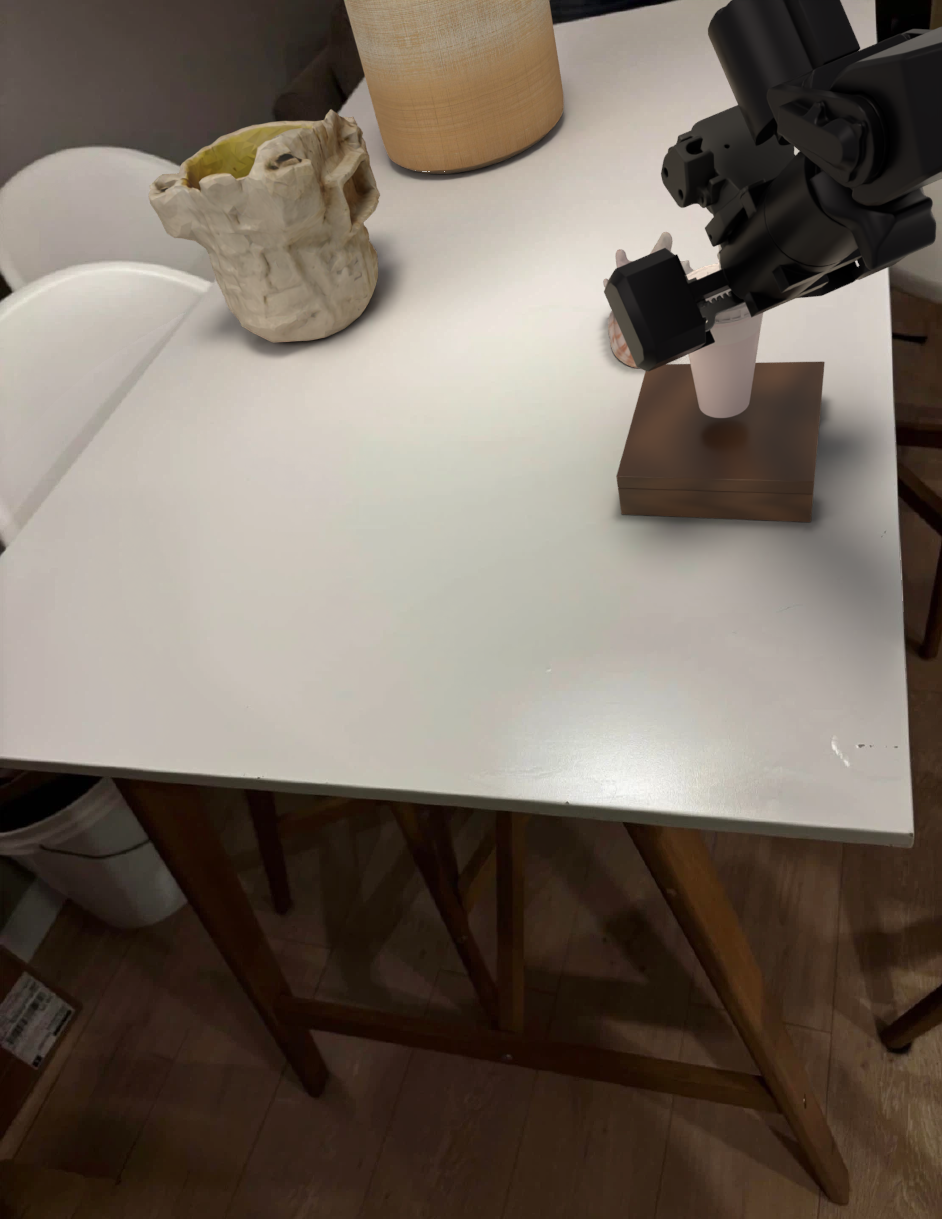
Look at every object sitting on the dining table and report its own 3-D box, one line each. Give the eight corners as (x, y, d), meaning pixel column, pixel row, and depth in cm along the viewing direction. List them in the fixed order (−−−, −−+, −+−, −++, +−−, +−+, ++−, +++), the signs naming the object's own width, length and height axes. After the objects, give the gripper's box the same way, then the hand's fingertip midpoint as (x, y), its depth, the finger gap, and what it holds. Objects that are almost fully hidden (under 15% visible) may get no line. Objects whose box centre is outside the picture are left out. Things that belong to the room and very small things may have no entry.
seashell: (718, 290, 87) (717, 196, 80) (708, 365, 80) (705, 268, 73) (615, 297, 90) (605, 208, 83) (596, 370, 83) (583, 278, 76)
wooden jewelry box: (821, 401, 73) (824, 360, 70) (810, 522, 65) (814, 481, 62) (650, 402, 78) (647, 364, 75) (621, 514, 70) (616, 476, 67)
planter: (508, 185, 112) (469, -18, 96) (354, 177, 124) (296, -4, 108) (598, 94, 124) (576, -100, 108) (449, 96, 136) (410, -78, 120)
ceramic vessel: (215, 191, 110) (260, -10, 90) (385, 299, 114) (464, 130, 94) (113, 290, 97) (139, 81, 77) (309, 409, 101) (382, 239, 81)
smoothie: (694, 438, 65) (685, 260, 55) (670, 390, 70) (657, 217, 60) (781, 415, 65) (787, 231, 55) (751, 368, 69) (751, 190, 59)
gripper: (908, 10, 48) (782, 157, 64) (598, 137, 47) (546, 256, 62) (988, 201, 48) (843, 301, 64) (683, 333, 47) (611, 403, 62)
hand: (711, 311), depth 63 cm, fingers closed on smoothie, 6 cm apart
